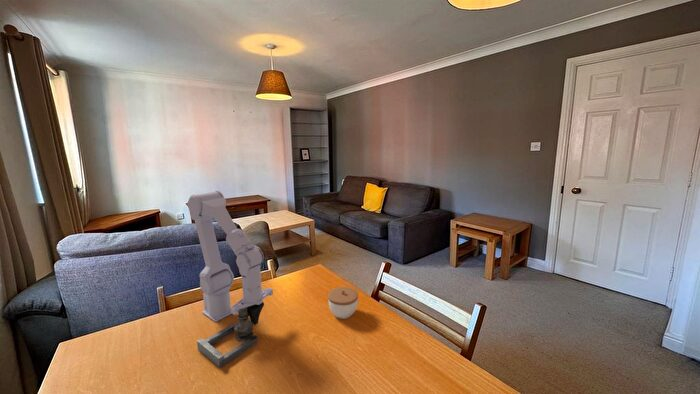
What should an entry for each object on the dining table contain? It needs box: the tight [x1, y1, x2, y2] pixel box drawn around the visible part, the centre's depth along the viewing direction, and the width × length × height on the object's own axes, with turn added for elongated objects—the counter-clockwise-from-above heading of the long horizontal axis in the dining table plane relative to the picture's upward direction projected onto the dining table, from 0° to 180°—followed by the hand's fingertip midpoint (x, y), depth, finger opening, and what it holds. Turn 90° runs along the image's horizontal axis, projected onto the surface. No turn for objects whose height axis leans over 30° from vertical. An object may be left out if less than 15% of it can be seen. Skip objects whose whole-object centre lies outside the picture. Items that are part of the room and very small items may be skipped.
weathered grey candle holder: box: [234, 302, 255, 343], centre depth 90 cm, size 6×6×12 cm
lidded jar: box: [327, 286, 359, 320], centre depth 102 cm, size 11×11×9 cm
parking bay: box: [196, 322, 259, 369], centre depth 86 cm, size 12×12×3 cm
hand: (254, 323), depth 94 cm, fingers closed
